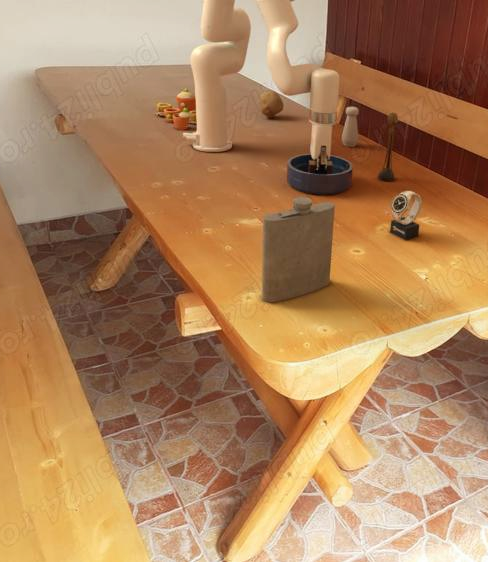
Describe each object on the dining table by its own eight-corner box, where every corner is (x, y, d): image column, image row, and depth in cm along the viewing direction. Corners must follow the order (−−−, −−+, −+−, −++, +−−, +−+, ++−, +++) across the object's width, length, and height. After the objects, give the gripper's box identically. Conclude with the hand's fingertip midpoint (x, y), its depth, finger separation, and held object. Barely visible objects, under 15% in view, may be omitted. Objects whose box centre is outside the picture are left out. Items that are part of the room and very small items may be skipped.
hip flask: (323, 277, 137) (329, 188, 127) (335, 285, 134) (341, 195, 124) (259, 296, 128) (259, 203, 118) (270, 306, 125) (271, 211, 115)
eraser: (308, 183, 183) (309, 164, 181) (307, 178, 187) (308, 160, 184) (332, 183, 184) (333, 165, 182) (331, 179, 188) (332, 160, 185)
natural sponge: (284, 115, 248) (285, 89, 243) (280, 121, 240) (281, 95, 236) (261, 113, 249) (262, 87, 244) (256, 119, 241) (257, 92, 236)
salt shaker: (356, 148, 218) (359, 110, 211) (339, 146, 218) (342, 108, 212) (359, 144, 223) (362, 106, 216) (343, 141, 223) (345, 104, 217)
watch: (384, 233, 158) (388, 191, 153) (407, 226, 163) (412, 186, 158) (399, 242, 155) (405, 199, 149) (423, 234, 159) (429, 193, 154)
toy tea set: (151, 112, 239) (149, 86, 234) (192, 109, 246) (190, 84, 242) (173, 132, 220) (171, 103, 215) (216, 128, 227) (215, 100, 222)
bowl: (288, 195, 176) (289, 174, 173) (285, 172, 192) (286, 152, 190) (355, 196, 179) (356, 176, 176) (346, 173, 195) (348, 154, 192)
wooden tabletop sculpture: (398, 182, 192) (406, 115, 182) (384, 183, 190) (391, 116, 180) (389, 175, 196) (396, 110, 187) (375, 176, 194) (382, 110, 185)
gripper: (307, 108, 183) (304, 169, 192) (312, 124, 169) (309, 190, 177) (333, 109, 184) (329, 170, 193) (340, 125, 170) (335, 190, 179)
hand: (319, 179), depth 185 cm, fingers closed on eraser, 4 cm apart
